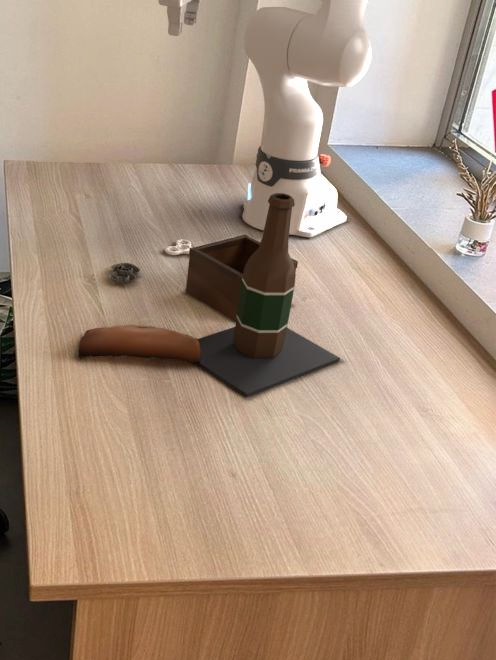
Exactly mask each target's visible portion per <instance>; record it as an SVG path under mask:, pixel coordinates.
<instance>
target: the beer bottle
mask: <svg viewBox="0 0 496 660" xmlns="http://www.w3.org/2000/svg"><path fill="white" fill-rule="evenodd" d="M268 202H269V204H270V205H269V209H268V214H267V218H266V223H265V227H264V231H263V232H262V237H261V240H260V242H261V243H260V246H259V248H258V249H257V250H256V251H255V252H254V253H253V254H252V255H251V256H250V258H249V260H248V262H247V263H246V265H245V268H244V272H243V277H242V283H241V290H240V297H239V304H238V311H237V317H236V322H235V326H234V327H235V331H234V343H235V345H236V347H237V349H238V351H239V352H240V353H242V354H245V355H247V356H250V357H252V358H273V357H274V356H276V355H277V354H278V353H280V352H281V351H282V349H283V345H284V341H285V336H286V331H287V328H288V325H289V321H290V320H289V319H290V313H291V309H292V308H291V307H292V303H293V298H294V292H295V285H296V273H295V269H294V264H293V262H292V260H291V258H292V257H291V255H290V253H289V241H290V240H289V239H290V235H289V231H290V221H291V212H292V207H293V206H295V204H294V199H293V198H292V196H290V195H287V194H284V193H275V194H273V195H271V196H270V197H269V200H268Z"/></svg>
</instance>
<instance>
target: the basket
mask: <svg viewBox="0 0 496 660" xmlns="http://www.w3.org/2000/svg"><path fill="white" fill-rule="evenodd" d="M260 243H261V241H259V240H256V239H255V238H252V237H251V236H250V235H248V234H242V235H236V236H232V237H229V238H225V239H221V240H218V241H213V242H210V243H205V244H202V245H201V244H200V245H198V246H192V247H193V248H190V250H189V255H188V256H189V259H188V266H187V274H186V275H187V276H186V284H185V293H186V294H187V295H189V296H190V297H192V298H193V299H195V300H197V301H199V302H201V303H203V304H204V305H206V306H208V307H209V308H210V309H213V310H214V311H215V312H218V313H219V314H221V315H222V316H224V317H226V318H227V319H229V320H231V321H233V322H234V323H236V317H237V311H238V304H239V297H240V290H241V283H242V277H243V272H244V268H245V265H246V263H247V262H248V260H249V258H250V256H251V255H252V254H253V253H254V252H255V251H256V250H257V249H258V248H259V246H260ZM291 260H292V262H293V264H294V269H295V274H296V272H297V269H298V264H299V261H298V260H296V259H294V258H292V257H291Z"/></svg>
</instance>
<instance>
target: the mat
mask: <svg viewBox="0 0 496 660" xmlns="http://www.w3.org/2000/svg"><path fill="white" fill-rule="evenodd" d="M234 331H235V326H233V327H230V328H227V329H224V330H221V331H218V332H215V333H211V334H208V335H205V336H202V337H200V338H197V339H198V340H199V344H200V349H201V364H200V363H198V362H192V363H193V364H195V365H196V366H198V367H199V368H201V369H203V370H204V371H205V372H207V373H208V374H210V375H211V376H213V377H214V378H216V379H218V380H219V381H221V382H222V383H224V384H225V385H227V386H228V387H229V388H231V389H233V390H234V391H236V392H237V393H239V394H240V395H242V396H244V397H245V398H249V397H251V396H254V395H257V394H259V393H263V392H265V391H267V390H269V389H272V388H274V387H277V386H280V385H282V384H284V383H288V382H290V381H293V380H295V379H297V378H300V377H303V376H305V375H307V374H311V373H313V372H315V371H318V370H320V369H323V368H325V367H328V366H331V365H333V364H336V363H338V362H340V360H341V357H339V356H338V355H335V354H334V353H332V352H330V351H328V350H327V349H325V348H323V347H322V346H320V345H318V344H317V343H315V342H313V341H311V340H309V339H308V338H306V337H305V336H302V335H301V334H299V333H297V332H295V331H294V330H292V329H290V328H289V327H287V331H286V336H285V341H284V345H283V349H282V351H281V352H280V353H278V354H277V355H276V356H274V357H273V358H252V357H250V356H247V355H245V354H242V353H240V352H239V351H238V349H237V347H236V345H235V343H234Z"/></svg>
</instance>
